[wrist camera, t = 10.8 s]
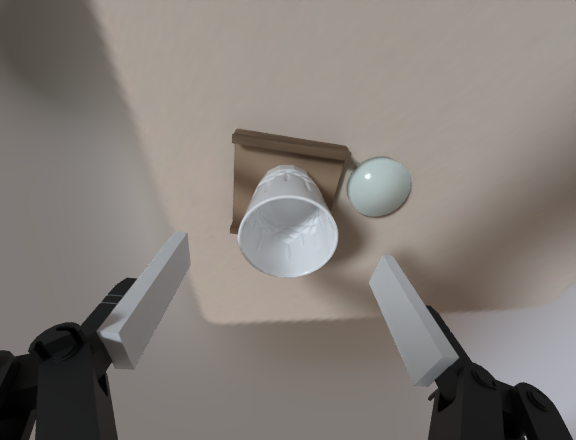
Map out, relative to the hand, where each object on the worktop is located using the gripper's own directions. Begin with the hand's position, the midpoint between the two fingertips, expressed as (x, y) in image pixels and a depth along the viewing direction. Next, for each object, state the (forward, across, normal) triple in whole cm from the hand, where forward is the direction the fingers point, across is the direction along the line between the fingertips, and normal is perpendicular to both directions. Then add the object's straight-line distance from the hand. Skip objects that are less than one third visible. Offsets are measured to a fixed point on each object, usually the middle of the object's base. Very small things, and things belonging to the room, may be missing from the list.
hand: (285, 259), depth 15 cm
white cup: (+13, 0, 0) cm, 13 cm away
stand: (+14, 0, 0) cm, 14 cm away
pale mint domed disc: (+14, +11, +2) cm, 18 cm away
